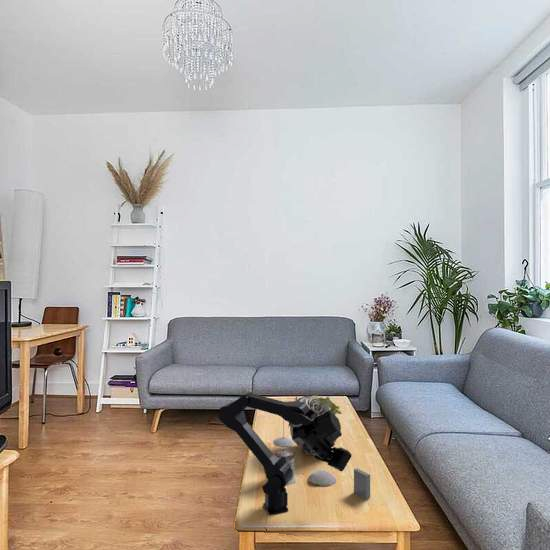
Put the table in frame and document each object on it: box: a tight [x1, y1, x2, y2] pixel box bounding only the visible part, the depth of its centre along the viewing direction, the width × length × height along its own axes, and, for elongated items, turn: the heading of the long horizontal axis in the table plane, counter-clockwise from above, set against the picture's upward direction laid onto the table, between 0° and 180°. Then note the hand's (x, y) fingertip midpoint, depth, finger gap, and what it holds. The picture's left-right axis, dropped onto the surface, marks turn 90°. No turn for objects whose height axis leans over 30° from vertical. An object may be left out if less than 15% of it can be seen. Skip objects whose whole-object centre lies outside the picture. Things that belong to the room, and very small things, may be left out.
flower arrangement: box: [288, 394, 342, 456], centre depth 183 cm, size 25×25×24 cm
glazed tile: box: [353, 467, 371, 501], centre depth 145 cm, size 2×6×8 cm, turn 34°
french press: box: [272, 418, 297, 486], centre depth 156 cm, size 10×12×25 cm
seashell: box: [307, 469, 337, 487], centre depth 156 cm, size 10×6×10 cm
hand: (339, 465), depth 139 cm, fingers open, 3 cm apart
